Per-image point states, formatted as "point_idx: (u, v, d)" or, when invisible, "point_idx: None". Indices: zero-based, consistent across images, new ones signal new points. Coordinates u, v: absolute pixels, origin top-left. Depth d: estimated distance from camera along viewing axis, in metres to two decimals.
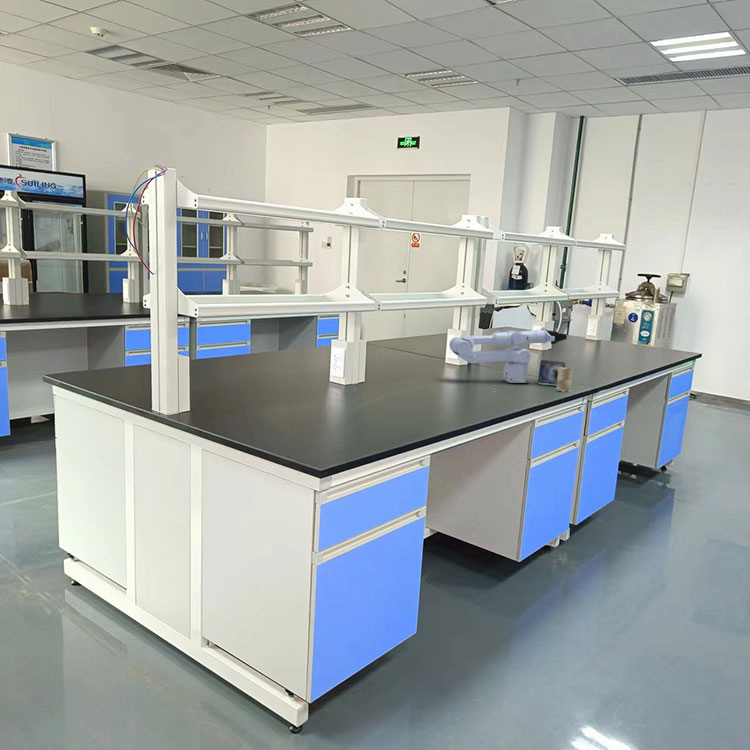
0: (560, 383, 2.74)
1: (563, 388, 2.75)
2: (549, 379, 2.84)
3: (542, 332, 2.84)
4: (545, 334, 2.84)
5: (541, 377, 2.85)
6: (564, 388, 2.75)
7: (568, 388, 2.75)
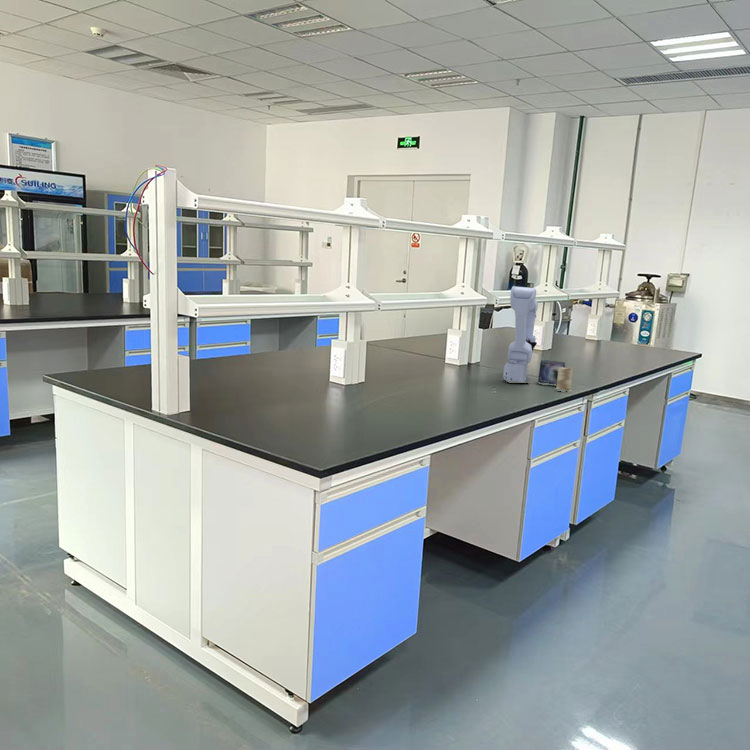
0: (560, 383, 2.74)
1: (563, 388, 2.75)
2: (549, 379, 2.84)
3: (532, 333, 2.97)
4: (531, 336, 2.96)
5: (541, 377, 2.85)
6: (564, 388, 2.75)
7: (568, 388, 2.75)
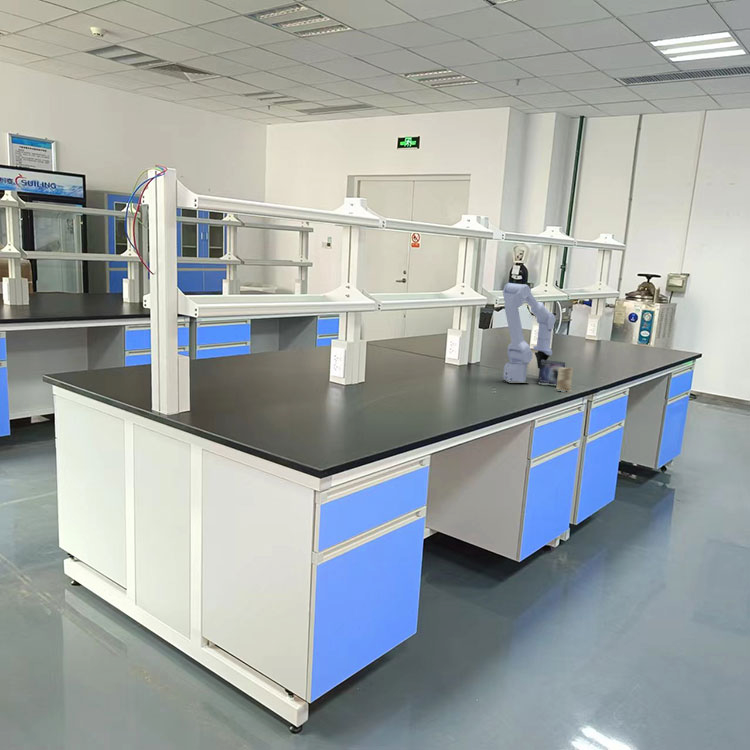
0: (560, 383, 2.74)
1: (563, 388, 2.75)
2: (549, 379, 2.84)
3: (549, 346, 2.94)
4: (548, 349, 2.93)
5: (541, 377, 2.85)
6: (564, 388, 2.75)
7: (568, 388, 2.75)
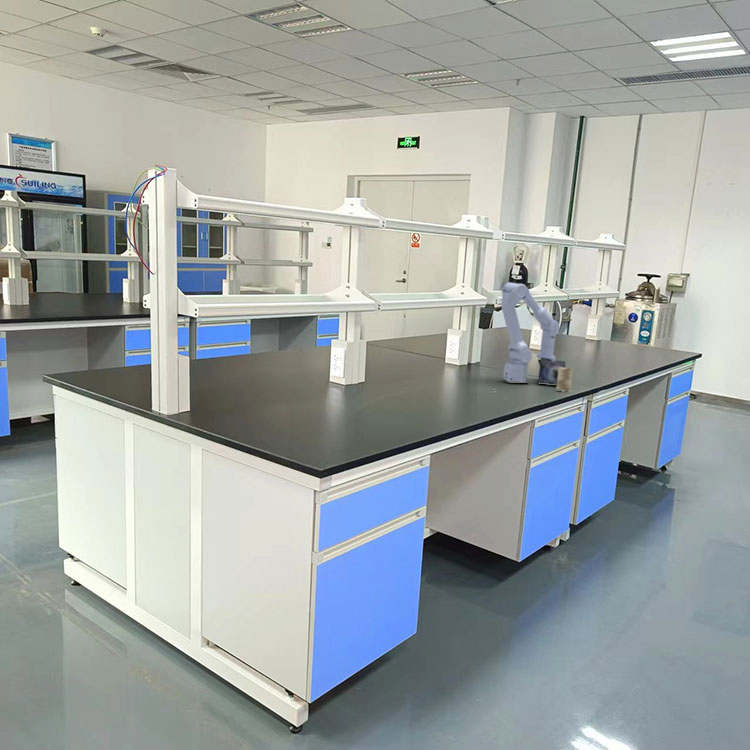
0: (560, 383, 2.74)
1: (563, 388, 2.75)
2: (549, 379, 2.84)
3: None
4: (551, 356, 2.89)
5: (541, 377, 2.85)
6: (564, 388, 2.75)
7: (568, 388, 2.75)
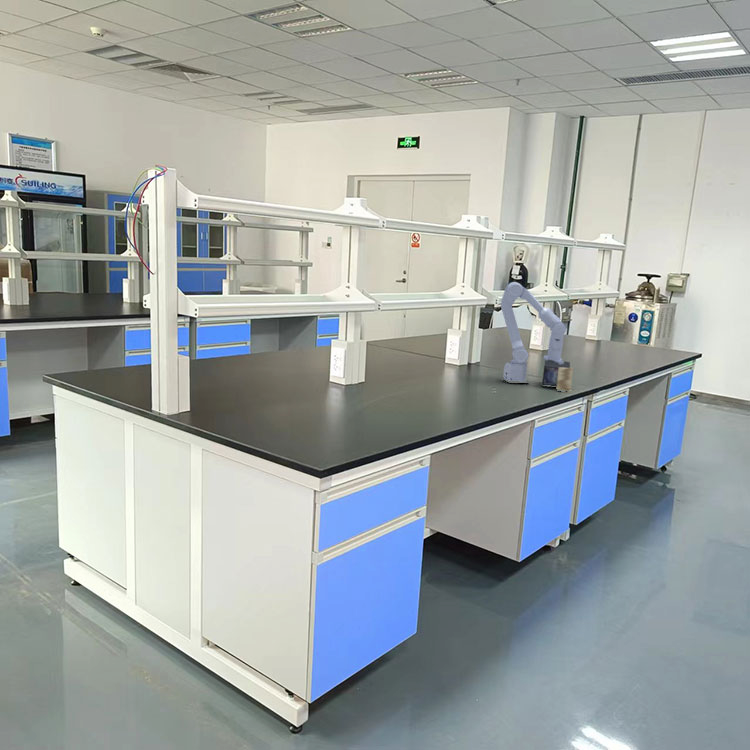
0: (560, 383, 2.74)
1: (563, 388, 2.75)
2: (553, 382, 2.79)
3: (560, 357, 2.83)
4: (559, 359, 2.82)
5: (546, 380, 2.80)
6: (564, 388, 2.75)
7: (568, 388, 2.75)
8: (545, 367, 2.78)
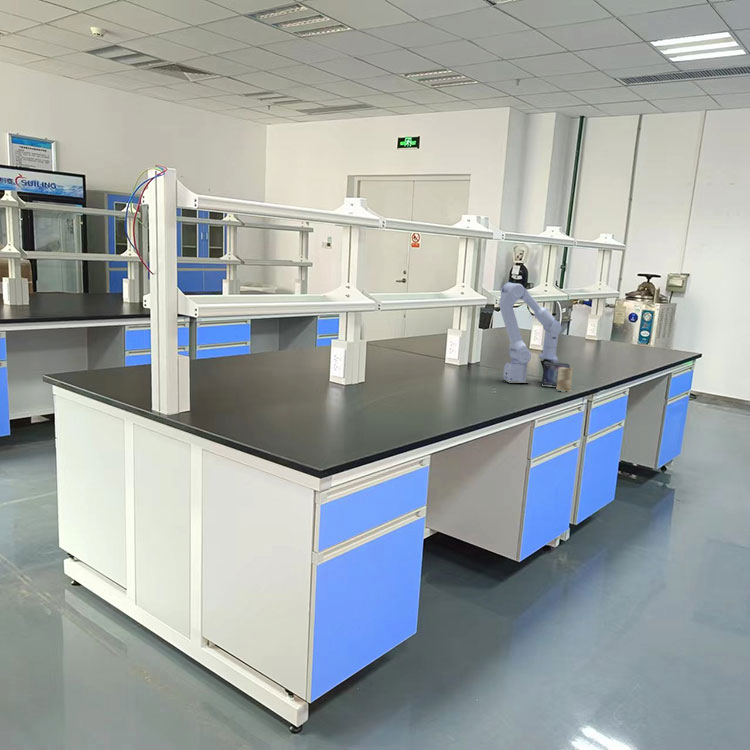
0: (560, 383, 2.74)
1: (563, 388, 2.75)
2: (553, 381, 2.80)
3: (555, 354, 2.88)
4: (554, 357, 2.87)
5: (546, 379, 2.81)
6: (564, 388, 2.75)
7: (568, 388, 2.75)
8: (545, 365, 2.80)
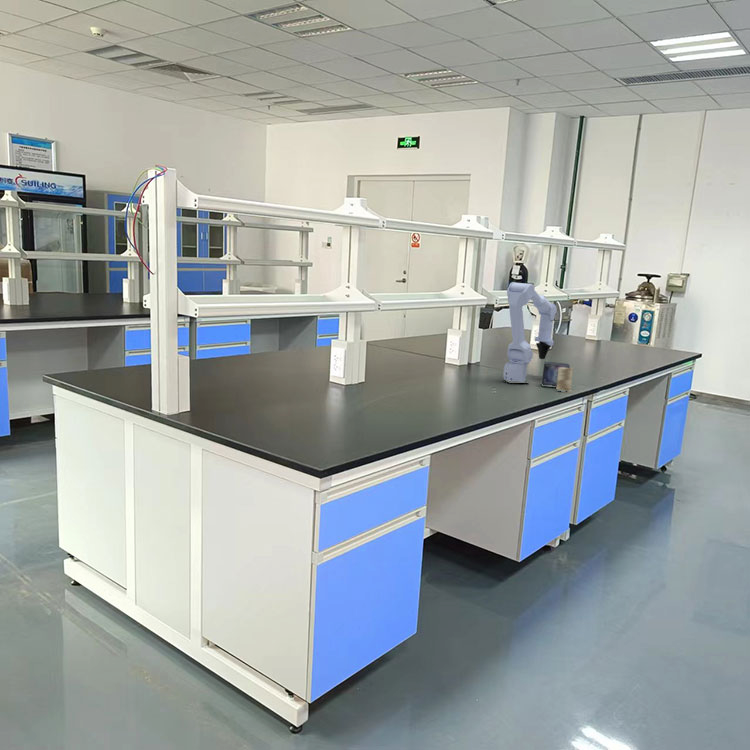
0: (560, 383, 2.74)
1: (563, 388, 2.75)
2: (553, 381, 2.80)
3: (550, 337, 2.97)
4: (549, 339, 2.96)
5: (546, 379, 2.81)
6: (564, 388, 2.75)
7: (568, 388, 2.75)
8: (545, 365, 2.80)
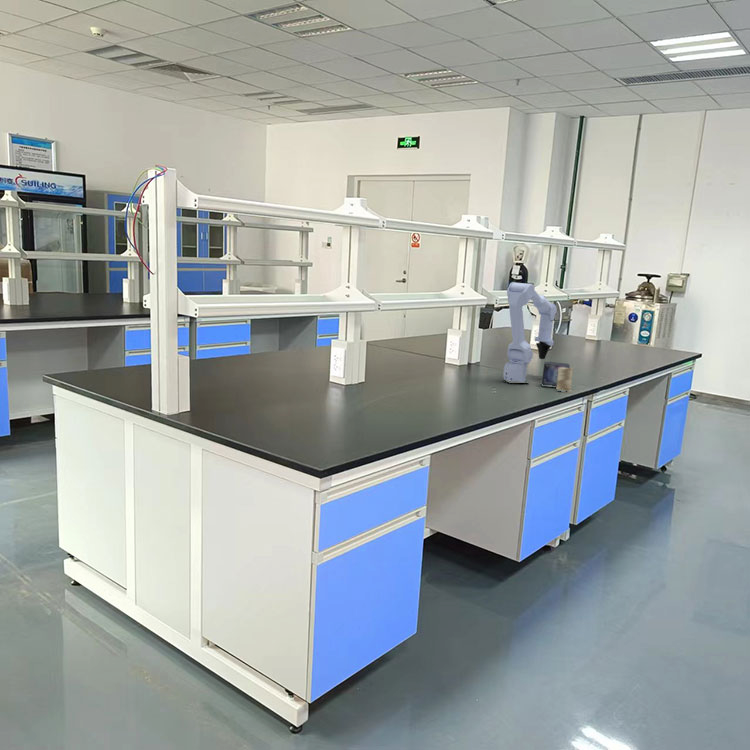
0: (560, 383, 2.74)
1: (563, 388, 2.75)
2: (553, 381, 2.80)
3: (550, 337, 2.97)
4: (549, 339, 2.96)
5: (546, 379, 2.81)
6: (564, 388, 2.75)
7: (568, 388, 2.75)
8: (545, 365, 2.80)
